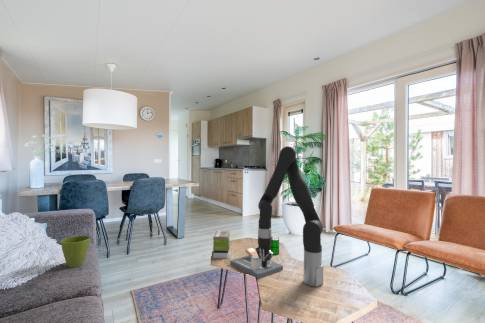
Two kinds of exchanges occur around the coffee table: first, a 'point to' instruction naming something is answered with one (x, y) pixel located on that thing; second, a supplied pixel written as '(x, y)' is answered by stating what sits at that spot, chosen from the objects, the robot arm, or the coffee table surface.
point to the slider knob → (255, 262)
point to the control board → (245, 266)
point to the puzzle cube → (274, 244)
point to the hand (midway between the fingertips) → (264, 267)
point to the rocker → (252, 252)
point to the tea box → (221, 244)
